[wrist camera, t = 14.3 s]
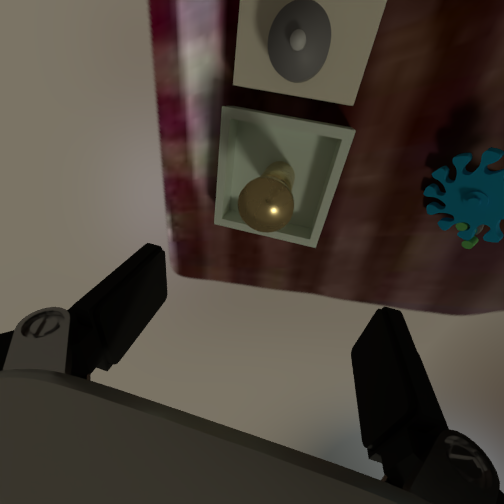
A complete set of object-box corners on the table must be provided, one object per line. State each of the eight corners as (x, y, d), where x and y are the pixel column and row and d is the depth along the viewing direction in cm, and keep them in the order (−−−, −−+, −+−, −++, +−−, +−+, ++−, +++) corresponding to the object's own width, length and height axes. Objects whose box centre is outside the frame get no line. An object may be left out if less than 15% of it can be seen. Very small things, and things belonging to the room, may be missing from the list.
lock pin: (263, 152, 30) (241, 172, 21) (304, 160, 30) (300, 185, 21) (256, 192, 33) (234, 225, 24) (294, 200, 33) (286, 238, 23)
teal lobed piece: (429, 149, 26) (574, 159, 18) (458, 130, 28) (600, 132, 20) (413, 234, 32) (515, 268, 25) (438, 215, 34) (539, 240, 27)
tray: (232, 105, 29) (222, 105, 26) (350, 127, 27) (355, 130, 24) (223, 212, 37) (214, 223, 33) (315, 234, 35) (315, 247, 32)
